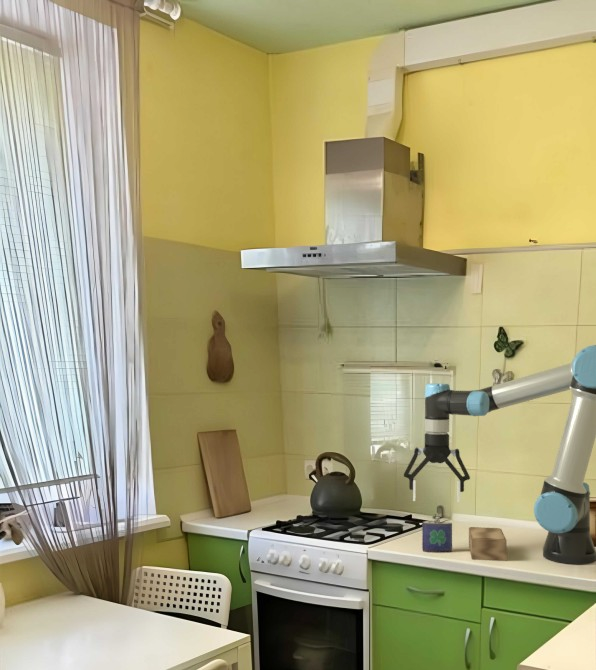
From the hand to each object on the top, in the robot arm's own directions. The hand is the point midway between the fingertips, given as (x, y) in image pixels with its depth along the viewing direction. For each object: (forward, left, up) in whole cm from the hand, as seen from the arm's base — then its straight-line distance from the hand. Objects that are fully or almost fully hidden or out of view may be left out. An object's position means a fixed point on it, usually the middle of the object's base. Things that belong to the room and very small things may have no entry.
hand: (436, 501), depth 234 cm
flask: (0, 0, -16) cm, 16 cm away
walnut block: (-15, 0, -15) cm, 22 cm away
